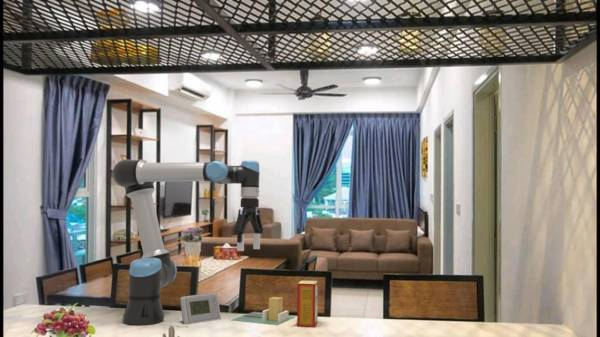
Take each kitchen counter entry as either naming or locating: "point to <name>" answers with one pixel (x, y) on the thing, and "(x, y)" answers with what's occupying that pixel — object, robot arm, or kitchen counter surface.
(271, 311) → the tan yellow block
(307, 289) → the baking soda box
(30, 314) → the kitchen counter surface
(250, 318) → the board
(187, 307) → the digital clock
